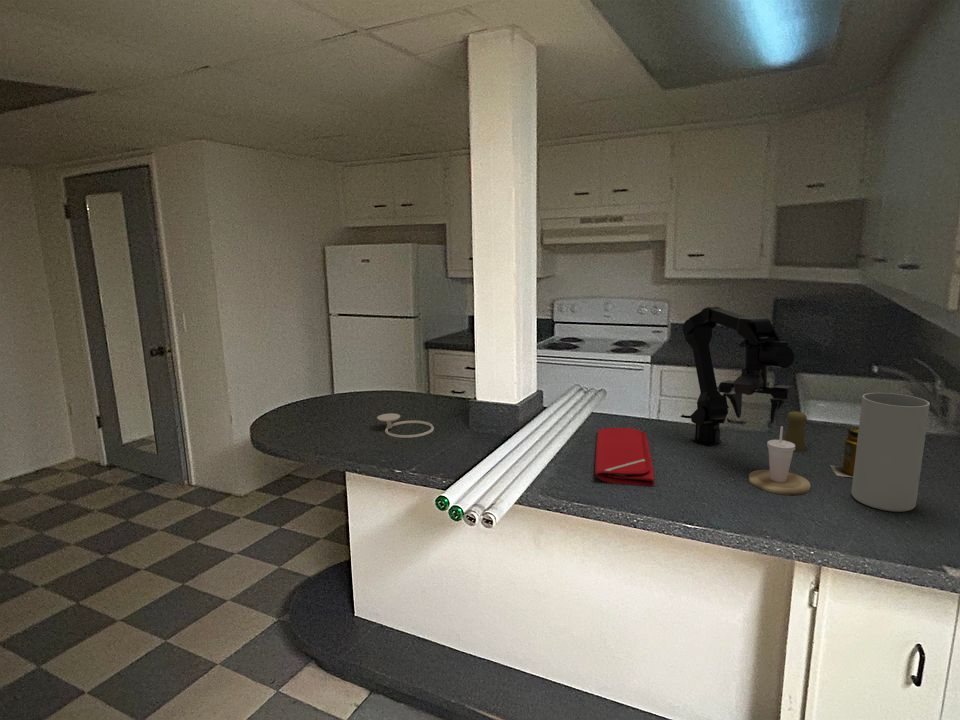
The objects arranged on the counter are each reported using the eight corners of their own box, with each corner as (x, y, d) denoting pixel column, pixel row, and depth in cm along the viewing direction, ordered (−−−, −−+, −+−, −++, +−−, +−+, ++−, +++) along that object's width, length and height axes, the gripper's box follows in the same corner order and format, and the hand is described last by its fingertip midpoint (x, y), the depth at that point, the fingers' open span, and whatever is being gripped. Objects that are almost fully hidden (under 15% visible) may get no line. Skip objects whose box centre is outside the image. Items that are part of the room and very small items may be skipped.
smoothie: (786, 474, 148) (791, 423, 145) (796, 484, 142) (801, 431, 139) (760, 474, 149) (764, 423, 146) (769, 484, 143) (774, 431, 140)
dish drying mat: (646, 437, 184) (647, 426, 183) (656, 488, 145) (656, 474, 144) (597, 434, 188) (597, 424, 187) (593, 484, 149) (593, 470, 148)
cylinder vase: (839, 495, 138) (850, 396, 133) (872, 486, 142) (884, 390, 138) (893, 517, 126) (907, 409, 121) (927, 506, 131) (942, 402, 126)
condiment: (874, 479, 147) (879, 435, 144) (837, 476, 149) (841, 433, 147) (865, 469, 153) (870, 427, 151) (829, 466, 156) (833, 424, 154)
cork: (782, 449, 170) (785, 413, 168) (782, 442, 175) (785, 408, 173) (805, 452, 167) (809, 416, 165) (805, 445, 172) (808, 410, 170)
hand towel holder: (419, 428, 183) (365, 422, 191) (420, 441, 184) (366, 435, 191) (441, 414, 199) (390, 409, 206) (442, 426, 200) (391, 420, 207)
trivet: (737, 481, 147) (738, 477, 147) (766, 468, 155) (766, 465, 155) (792, 499, 136) (792, 495, 136) (820, 485, 144) (820, 481, 143)
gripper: (708, 365, 157) (708, 420, 159) (778, 370, 142) (777, 430, 144) (728, 360, 164) (727, 413, 166) (796, 365, 149) (795, 423, 151)
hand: (755, 420), depth 156 cm, fingers open, 9 cm apart
